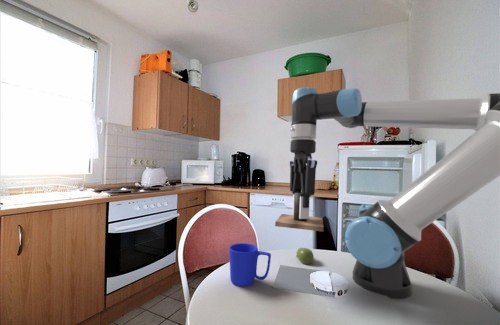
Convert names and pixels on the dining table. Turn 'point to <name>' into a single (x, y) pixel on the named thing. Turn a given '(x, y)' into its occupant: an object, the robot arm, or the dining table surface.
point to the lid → (297, 223)
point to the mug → (245, 264)
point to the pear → (305, 255)
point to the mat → (296, 280)
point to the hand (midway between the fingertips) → (300, 216)
